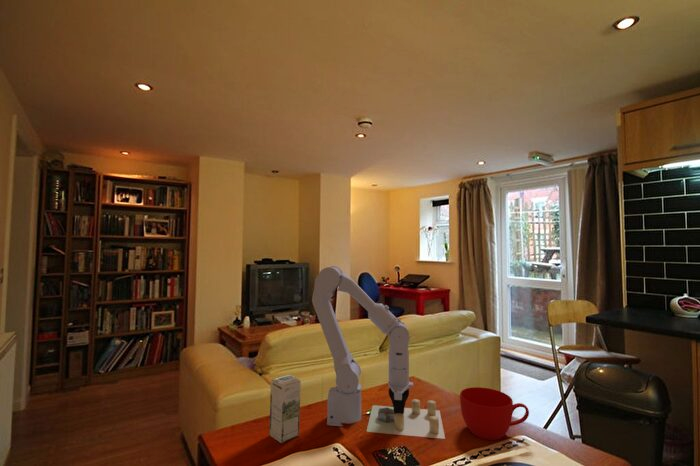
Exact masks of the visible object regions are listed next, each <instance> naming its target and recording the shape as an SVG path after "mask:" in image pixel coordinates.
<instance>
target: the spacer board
mask: <svg viewBox="0 0 700 466" xmlns="http://www.w3.org/2000/svg"><path fill="white" fill-rule="evenodd" d="M426 402H427V403H426V404H427V407H426V409H425V408H421V400H420V399H418V398H414V399H411V407H405V408H404V414H401V413H396V414H395V420H394V422H390V423H384V422H382V421H379V420H378V411H379V409H381V408H390V409H393V410H394V408H393V406H387V405H375V404H373V405H372V406H371V411H370V414H369V420H368V424H367V427H366V428H367V429H366V432H367V433H377V434H378V433H379V434H385V435H388V434H389V435H397V436H408V437H410V436H411V437H420V438H423V437H424V438H431V439H441V440H446V437H445V430H444V426H443V421H442V417H441V416H442V415H441V411H440V410H439V409H438V410H437V405H436V404H437V402H436V401H435V400H431V399H429V400H427V401H426Z"/></svg>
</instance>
